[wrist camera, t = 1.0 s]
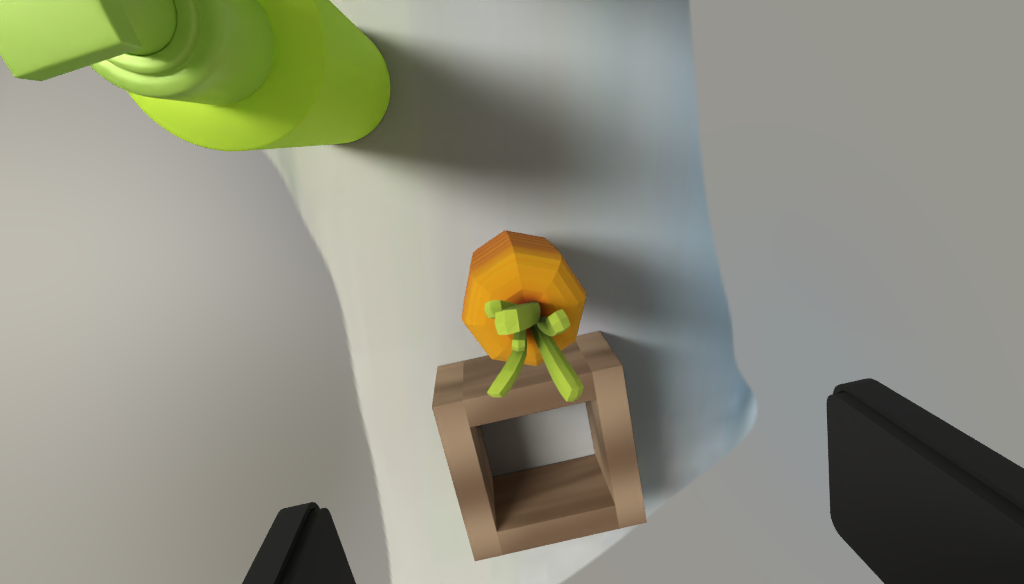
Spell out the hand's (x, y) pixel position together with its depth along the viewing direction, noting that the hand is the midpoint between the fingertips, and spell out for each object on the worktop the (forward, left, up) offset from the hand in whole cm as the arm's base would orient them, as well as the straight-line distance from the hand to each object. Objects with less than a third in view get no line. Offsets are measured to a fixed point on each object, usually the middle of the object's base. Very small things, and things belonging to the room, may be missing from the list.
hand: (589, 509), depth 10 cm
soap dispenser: (-11, -7, -22) cm, 26 cm away
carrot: (0, 0, -22) cm, 22 cm away
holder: (+11, -1, -22) cm, 24 cm away
